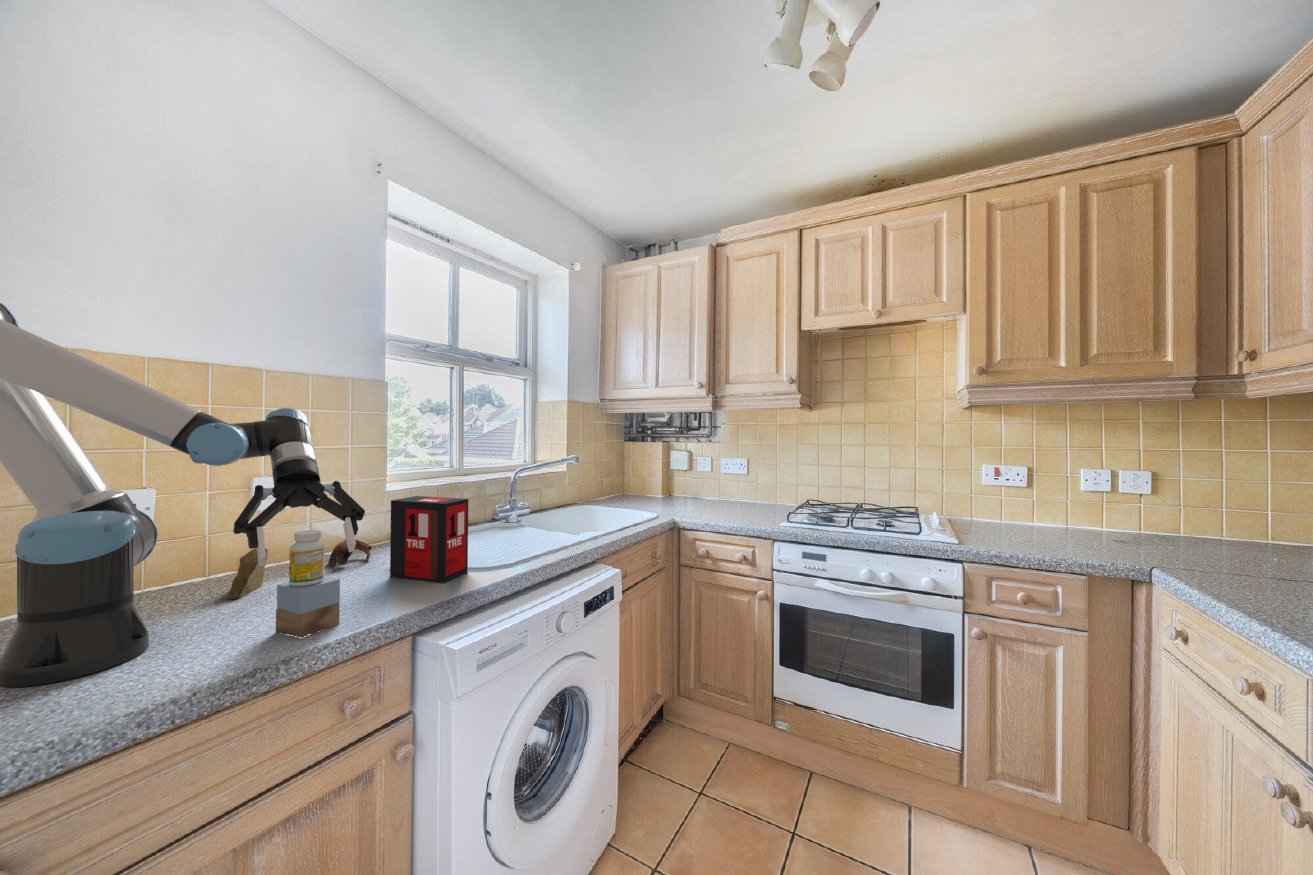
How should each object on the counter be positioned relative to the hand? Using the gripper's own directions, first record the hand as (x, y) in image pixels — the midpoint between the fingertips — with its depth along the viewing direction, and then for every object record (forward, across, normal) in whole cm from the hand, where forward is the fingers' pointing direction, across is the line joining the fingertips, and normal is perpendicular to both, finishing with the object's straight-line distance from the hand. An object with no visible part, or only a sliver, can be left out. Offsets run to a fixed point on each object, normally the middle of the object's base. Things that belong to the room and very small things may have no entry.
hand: (310, 554), depth 85 cm
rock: (-16, +6, -37) cm, 40 cm away
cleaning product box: (-4, -29, -25) cm, 38 cm away
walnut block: (+9, 0, -12) cm, 15 cm away
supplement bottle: (+3, 0, -6) cm, 6 cm away
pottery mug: (-22, -17, -44) cm, 52 cm away
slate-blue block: (+5, 0, -9) cm, 11 cm away
